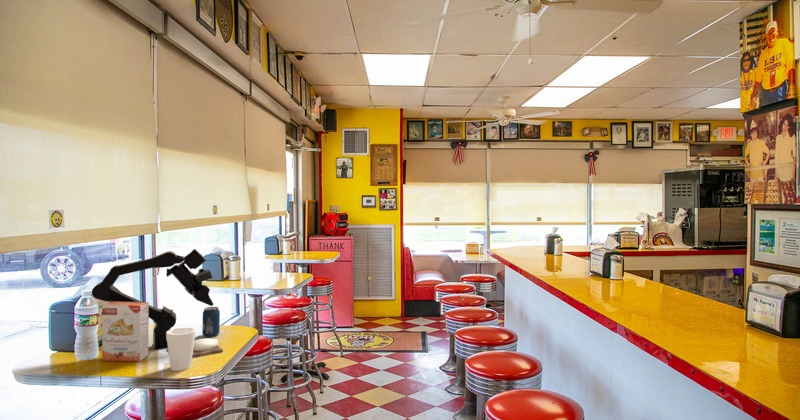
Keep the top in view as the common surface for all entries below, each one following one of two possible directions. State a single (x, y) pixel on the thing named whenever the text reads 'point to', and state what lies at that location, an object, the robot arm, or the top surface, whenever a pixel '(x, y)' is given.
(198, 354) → the plinth board
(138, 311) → the cracker box
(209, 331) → the soda can
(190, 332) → the foam cup
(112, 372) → the top surface
